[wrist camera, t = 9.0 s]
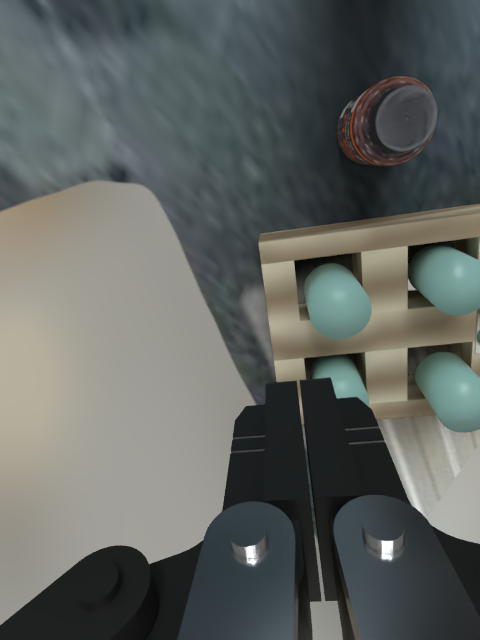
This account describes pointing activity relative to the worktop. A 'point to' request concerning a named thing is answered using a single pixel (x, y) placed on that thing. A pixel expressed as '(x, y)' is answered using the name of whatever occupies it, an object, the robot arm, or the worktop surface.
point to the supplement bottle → (388, 122)
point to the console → (372, 302)
